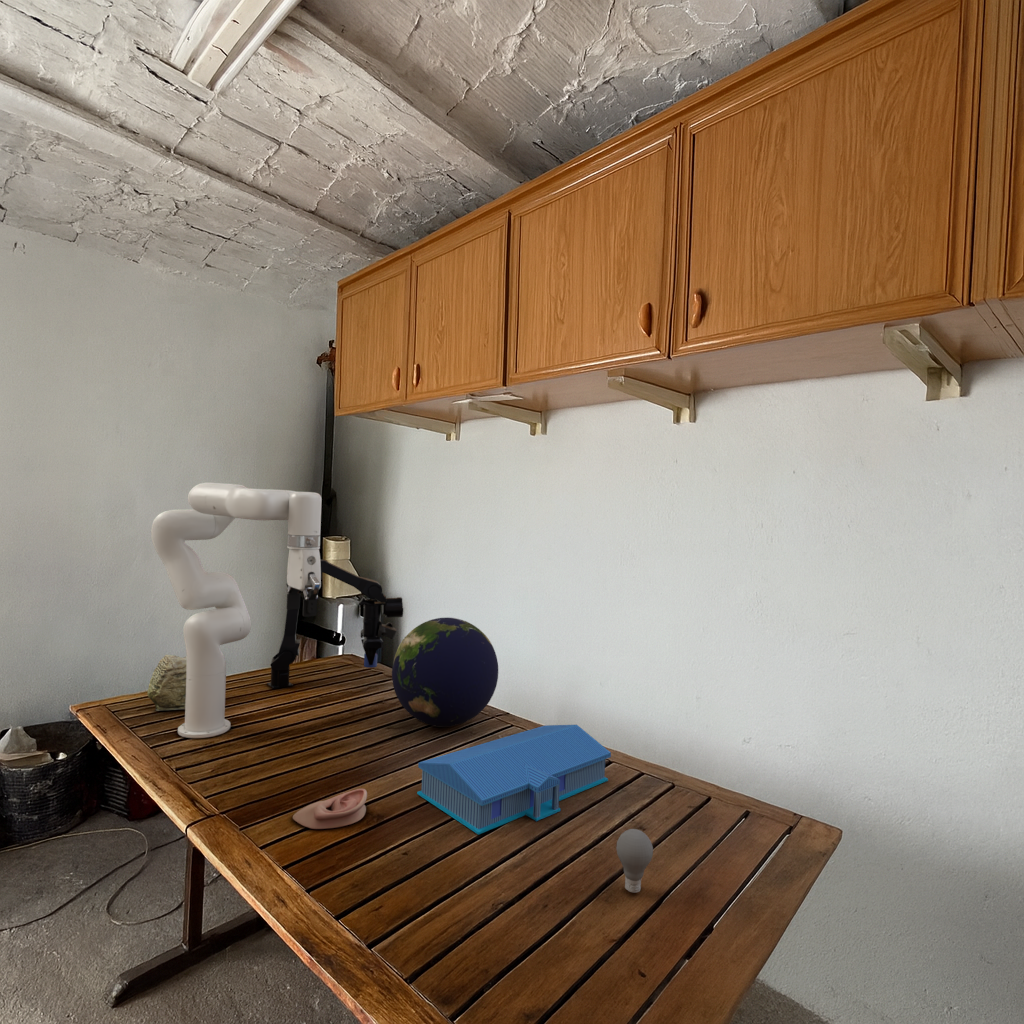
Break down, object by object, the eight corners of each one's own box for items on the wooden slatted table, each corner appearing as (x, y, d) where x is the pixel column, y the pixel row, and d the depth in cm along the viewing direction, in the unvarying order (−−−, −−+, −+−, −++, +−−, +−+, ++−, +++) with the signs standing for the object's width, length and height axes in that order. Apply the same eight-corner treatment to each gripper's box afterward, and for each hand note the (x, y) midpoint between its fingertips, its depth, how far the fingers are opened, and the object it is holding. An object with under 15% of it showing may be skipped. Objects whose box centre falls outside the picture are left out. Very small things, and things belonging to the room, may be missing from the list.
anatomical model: (284, 804, 122) (315, 778, 133) (284, 824, 122) (314, 797, 133) (348, 814, 119) (374, 787, 130) (348, 835, 119) (373, 806, 130)
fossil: (144, 707, 182) (145, 655, 182) (212, 696, 194) (213, 647, 194) (151, 716, 175) (153, 662, 175) (221, 703, 188) (223, 653, 188)
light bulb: (610, 879, 108) (613, 822, 108) (644, 879, 109) (647, 822, 109) (619, 902, 102) (622, 840, 102) (655, 901, 103) (658, 840, 103)
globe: (368, 731, 171) (372, 620, 171) (424, 700, 199) (427, 605, 198) (467, 752, 160) (472, 634, 160) (512, 716, 188) (516, 616, 187)
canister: (376, 664, 220) (377, 652, 219) (377, 667, 215) (377, 655, 215) (363, 664, 218) (364, 652, 218) (364, 667, 214) (364, 655, 214)
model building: (489, 841, 119) (491, 789, 119) (416, 793, 137) (417, 747, 137) (619, 785, 145) (621, 742, 145) (543, 750, 163) (545, 712, 163)
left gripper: (334, 545, 150) (331, 617, 150) (304, 539, 163) (301, 606, 163) (303, 545, 145) (300, 620, 145) (275, 540, 158) (272, 608, 158)
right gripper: (399, 622, 210) (397, 669, 210) (392, 612, 228) (391, 655, 228) (364, 623, 207) (362, 670, 207) (361, 612, 225) (359, 656, 225)
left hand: (301, 612), depth 154 cm, fingers open, 9 cm apart
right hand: (370, 663), depth 217 cm, fingers closed on canister, 4 cm apart
